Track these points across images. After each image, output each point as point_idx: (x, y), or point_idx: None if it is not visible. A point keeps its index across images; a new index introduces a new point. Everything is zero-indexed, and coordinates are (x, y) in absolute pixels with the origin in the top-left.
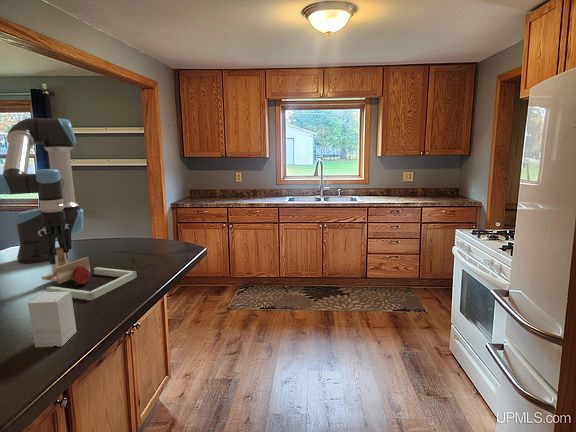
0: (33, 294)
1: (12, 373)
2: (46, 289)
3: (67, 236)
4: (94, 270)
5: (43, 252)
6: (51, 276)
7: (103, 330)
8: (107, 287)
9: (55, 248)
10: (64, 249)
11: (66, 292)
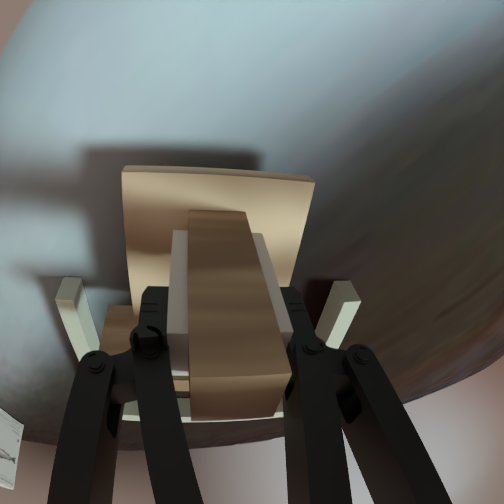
0: (35, 223)
1: None
2: (57, 292)
3: (375, 485)
4: (339, 296)
5: (77, 388)
6: (146, 234)
7: (53, 441)
8: None
9: (232, 396)
10: (284, 394)
11: (7, 487)
